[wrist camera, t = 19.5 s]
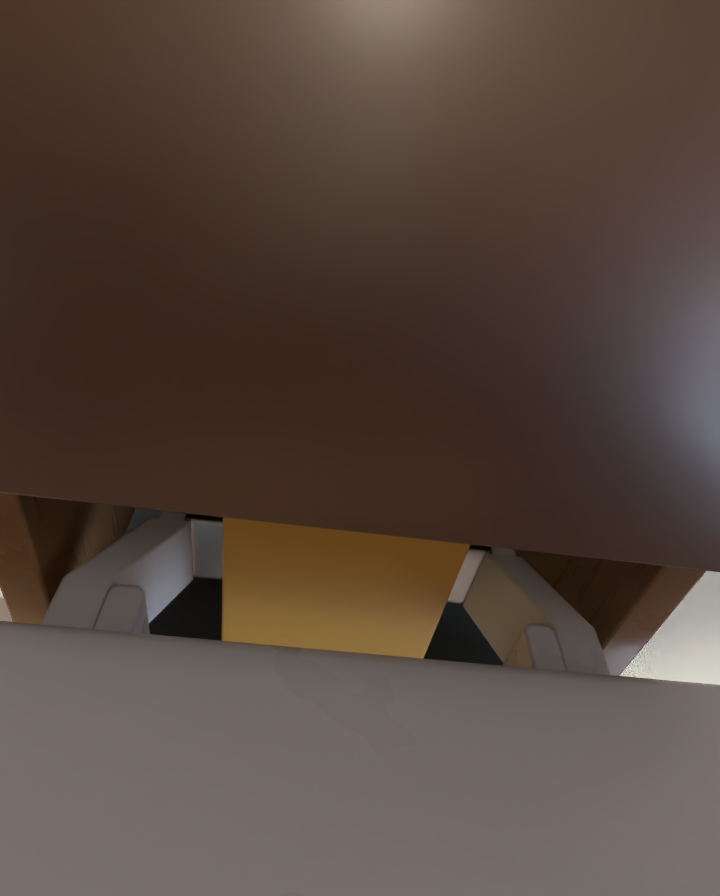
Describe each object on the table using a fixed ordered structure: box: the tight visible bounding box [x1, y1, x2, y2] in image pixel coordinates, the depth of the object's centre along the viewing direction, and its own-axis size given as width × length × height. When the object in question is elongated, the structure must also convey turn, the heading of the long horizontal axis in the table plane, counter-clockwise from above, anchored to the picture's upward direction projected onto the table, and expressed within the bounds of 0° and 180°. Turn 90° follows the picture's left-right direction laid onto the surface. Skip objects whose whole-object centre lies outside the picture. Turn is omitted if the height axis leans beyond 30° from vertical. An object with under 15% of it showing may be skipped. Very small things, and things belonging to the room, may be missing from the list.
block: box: [221, 517, 470, 659], centre depth 13 cm, size 4×4×4 cm
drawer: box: [0, 493, 706, 676], centre depth 14 cm, size 20×13×7 cm
